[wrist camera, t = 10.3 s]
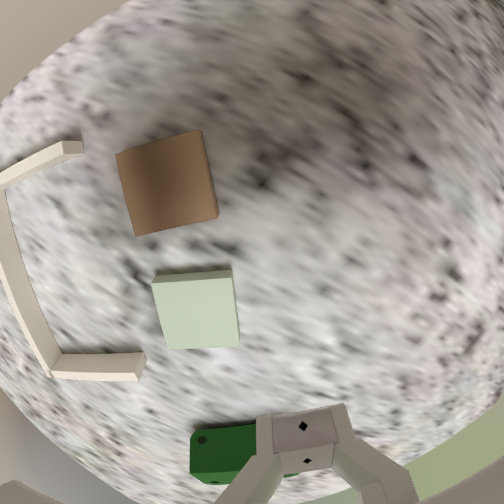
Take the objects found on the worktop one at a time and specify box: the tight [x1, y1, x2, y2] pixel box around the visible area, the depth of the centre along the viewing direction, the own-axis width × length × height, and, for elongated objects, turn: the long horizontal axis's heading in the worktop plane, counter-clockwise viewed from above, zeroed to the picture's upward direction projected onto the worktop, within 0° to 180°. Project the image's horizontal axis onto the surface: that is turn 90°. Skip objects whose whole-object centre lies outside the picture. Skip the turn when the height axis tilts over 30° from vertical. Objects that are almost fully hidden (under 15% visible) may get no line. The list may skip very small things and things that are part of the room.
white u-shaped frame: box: [0, 141, 147, 381], centre depth 20 cm, size 12×20×3 cm, turn 9°
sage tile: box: [151, 270, 240, 349], centre depth 22 cm, size 6×6×2 cm
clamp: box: [190, 424, 299, 485], centre depth 26 cm, size 12×6×9 cm, turn 95°
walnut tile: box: [115, 130, 219, 237], centre depth 19 cm, size 6×6×2 cm
